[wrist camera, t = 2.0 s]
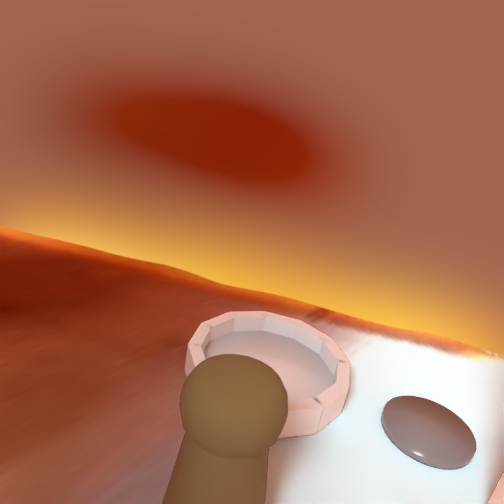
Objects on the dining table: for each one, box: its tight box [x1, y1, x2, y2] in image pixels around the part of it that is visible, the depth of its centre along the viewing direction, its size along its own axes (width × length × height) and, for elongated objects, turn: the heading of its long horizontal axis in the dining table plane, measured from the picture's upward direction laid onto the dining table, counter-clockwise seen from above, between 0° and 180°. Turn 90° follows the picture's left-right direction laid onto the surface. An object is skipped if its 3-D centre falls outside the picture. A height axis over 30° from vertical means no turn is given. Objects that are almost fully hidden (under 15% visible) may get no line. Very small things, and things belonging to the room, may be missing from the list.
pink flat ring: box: [185, 311, 350, 438], centre depth 40 cm, size 13×13×2 cm
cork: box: [162, 354, 288, 504], centre depth 25 cm, size 6×6×11 cm
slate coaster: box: [381, 396, 476, 470], centre depth 37 cm, size 7×7×1 cm
